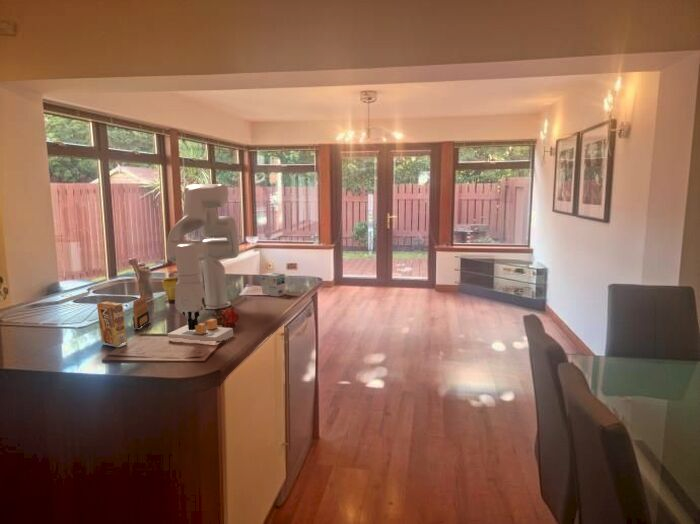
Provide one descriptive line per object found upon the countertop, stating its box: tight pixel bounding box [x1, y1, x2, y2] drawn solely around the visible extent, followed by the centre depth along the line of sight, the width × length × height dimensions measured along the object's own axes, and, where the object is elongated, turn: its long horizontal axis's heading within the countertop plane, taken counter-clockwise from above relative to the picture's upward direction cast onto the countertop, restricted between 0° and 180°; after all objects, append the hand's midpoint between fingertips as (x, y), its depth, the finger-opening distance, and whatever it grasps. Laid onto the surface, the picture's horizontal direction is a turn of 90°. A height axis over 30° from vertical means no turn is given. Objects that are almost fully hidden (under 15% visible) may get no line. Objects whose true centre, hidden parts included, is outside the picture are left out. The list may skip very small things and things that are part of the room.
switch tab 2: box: [205, 318, 218, 329], centre depth 176 cm, size 2×3×3 cm
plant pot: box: [161, 277, 178, 301], centre depth 241 cm, size 10×10×10 cm
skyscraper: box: [184, 237, 205, 289], centre depth 264 cm, size 8×8×28 cm
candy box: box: [96, 301, 128, 345], centre depth 169 cm, size 9×4×15 cm, turn 61°
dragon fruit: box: [214, 306, 240, 328], centre depth 188 cm, size 8×8×12 cm
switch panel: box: [167, 324, 234, 341], centre depth 174 cm, size 20×11×3 cm, turn 72°
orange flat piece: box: [132, 294, 150, 329], centre depth 192 cm, size 11×2×12 cm, turn 0°
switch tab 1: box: [195, 322, 207, 334], centre depth 170 cm, size 2×3×3 cm
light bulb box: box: [260, 272, 287, 297], centre depth 242 cm, size 11×7×11 cm, turn 58°
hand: (193, 329), depth 171 cm, fingers closed
